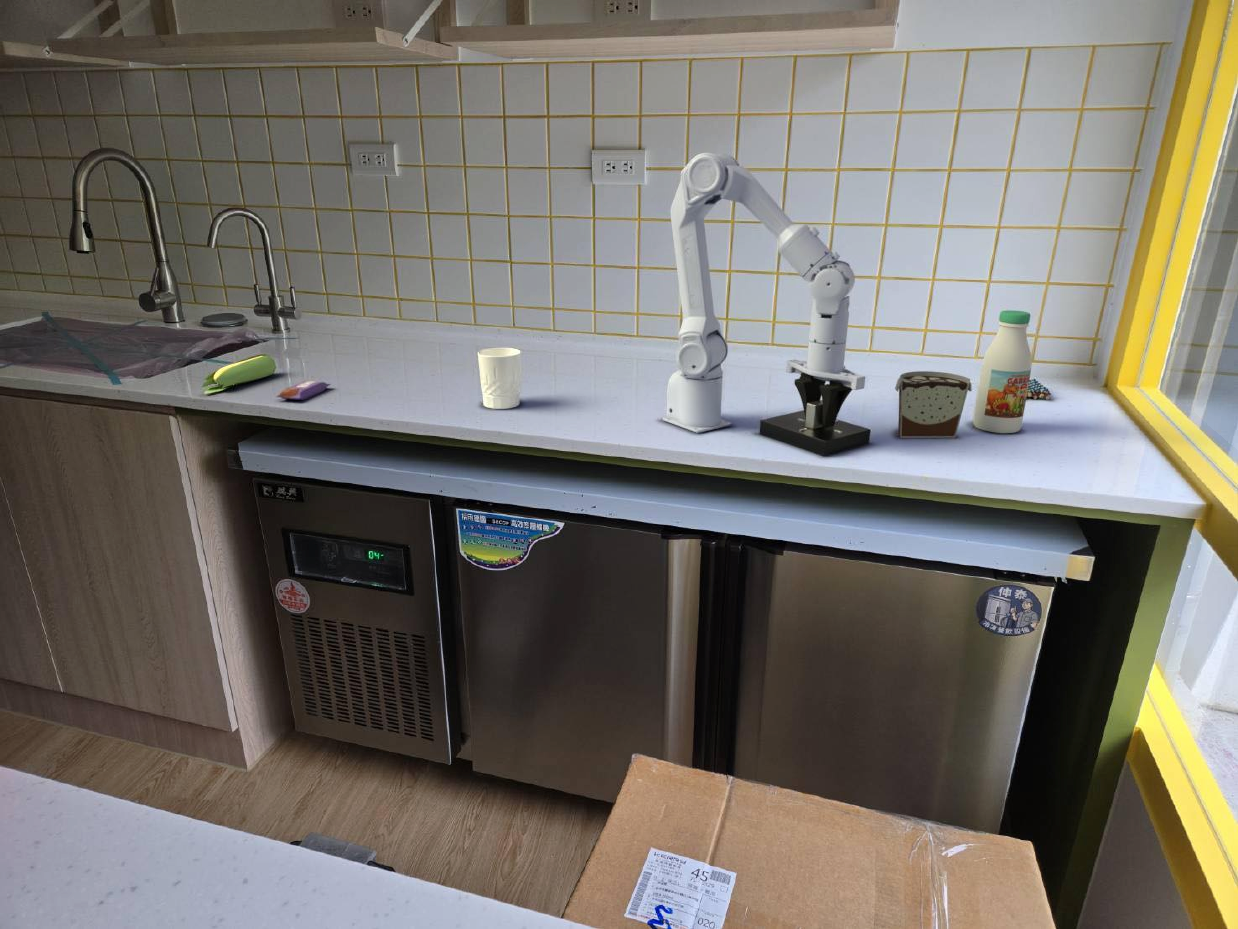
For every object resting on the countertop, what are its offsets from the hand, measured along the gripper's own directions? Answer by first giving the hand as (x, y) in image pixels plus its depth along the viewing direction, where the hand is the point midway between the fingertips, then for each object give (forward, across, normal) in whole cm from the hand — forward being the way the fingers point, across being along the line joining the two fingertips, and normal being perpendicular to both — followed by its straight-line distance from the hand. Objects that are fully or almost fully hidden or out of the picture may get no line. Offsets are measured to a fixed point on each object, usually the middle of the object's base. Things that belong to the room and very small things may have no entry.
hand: (819, 423), depth 133 cm
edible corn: (+3, +92, +69) cm, 115 cm away
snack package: (+3, +76, +61) cm, 98 cm away
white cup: (+3, +49, +33) cm, 59 cm away
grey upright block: (0, 0, 0) cm, 0 cm away
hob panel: (+3, +1, 0) cm, 3 cm away
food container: (+3, -7, -18) cm, 20 cm away
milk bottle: (+3, -13, -31) cm, 34 cm away
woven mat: (+3, -1, -57) cm, 57 cm away
